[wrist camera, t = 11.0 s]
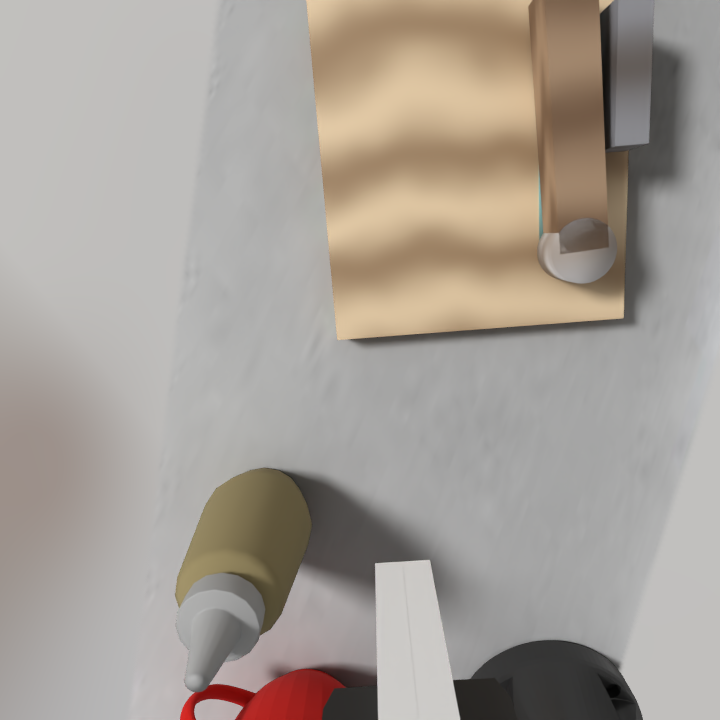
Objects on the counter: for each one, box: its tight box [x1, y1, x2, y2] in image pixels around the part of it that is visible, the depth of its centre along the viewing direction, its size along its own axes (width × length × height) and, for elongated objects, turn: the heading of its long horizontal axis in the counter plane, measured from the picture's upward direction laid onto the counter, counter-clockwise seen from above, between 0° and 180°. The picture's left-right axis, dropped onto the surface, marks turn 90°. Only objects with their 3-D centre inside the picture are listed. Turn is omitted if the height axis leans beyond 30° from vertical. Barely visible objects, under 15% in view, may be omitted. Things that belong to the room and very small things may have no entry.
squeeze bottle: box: [175, 468, 312, 692], centre depth 34 cm, size 8×8×18 cm
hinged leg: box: [528, 0, 617, 284], centre depth 33 cm, size 17×4×3 cm, turn 8°
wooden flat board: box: [306, 0, 654, 340], centre depth 35 cm, size 22×20×5 cm
